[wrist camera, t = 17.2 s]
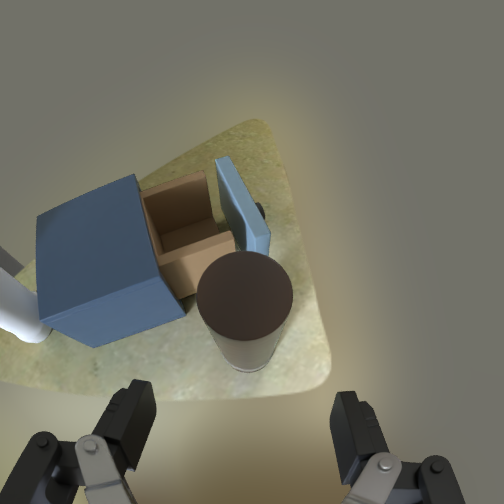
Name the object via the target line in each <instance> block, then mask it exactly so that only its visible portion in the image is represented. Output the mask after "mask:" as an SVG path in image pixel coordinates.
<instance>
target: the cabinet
mask: <svg viewBox="0 0 504 504" xmlns="http://www.w3.org/2000/svg"><path fill="white" fill-rule="evenodd" d="M140 192H141V188H140V186H139V184H138V181H137V179H136V176H135V174H132V175H129V176H127V177H124V178H122V179H119V180H116V181H114V182H112V183H109V184H107V185H104V186H102V187H99V188H97V189H95V190H92V191H90V192H88V193H85V194H83V195H81V196H79V197H77V198H74V199H72V200H70V201H68V202H66V203H63V204H61V205H59V206H57V207H55V208H53V209H51V210H49V211H47V212H45V213H43V214H41V215H39V216H37V226H36V282H37V299H38V311H39V321H40V322H42V323H44V324H46V325H47V326H49V327H51V328H53V329H55V330H57V331H59V332H61V333H63V334H65V335H67V336H69V337H71V338H73V339H75V340H77V341H79V342H81V343H83V344H85V345H88V346H90V347H92V348H95V347H98V346H101V345H104V344H107V343H110V342H113V341H116V340H119V339H122V338H125V337H128V336H131V335H134V334H136V333H139V332H142V331H145V330H148V329H151V328H153V327H156V326H159V325H162V324H165V323H167V322H170V321H173V320H176V319H178V318H181V317H184V316H186V313H185V310H184V307H183V304H182V301H181V299H177V297H176V296H175V294H174V293H173V291H172V290H171V288H170V286H169V285H168V283H167V282H166V280H165V278H164V277H163V275H162V274H161V272H160V269H159V266H158V263H157V259H156V255H155V252H154V248H153V245H152V241H151V237H150V233H149V229H148V226H147V222H146V218H145V213H144V209H143V205H142V201H141V197H140Z"/></svg>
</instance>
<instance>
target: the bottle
mask: <svg viewBox="0 0 504 504" xmlns="http://www.w3.org/2000/svg"><path fill="white" fill-rule="evenodd" d="M0 327H1V328H3V329H5V330H7V331H9V332H12V333H14V334H15V335H16V336H17V337H18V338H20V339H21V340H23V341H26V342H31V343H39V342H41V341H43V340H45V339H46V338H47V336H48V335H49V334H50V332H51V329H52V328H51V327H49V326H47V325H46V324H44V323H42V322H40V321H39V311H38V299H37V293H36V292H35V291H33V292H31V291H30V290H29V289H27V288H26V287H25V286H23V285H22V284H21V283H20V282H18V281H17V280H16V279H14V278H13V277H12V276H11V275H9V274H8V273H7V272H6V271H5V270H3V269H2V268H1V267H0Z"/></svg>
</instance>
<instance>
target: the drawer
mask: <svg viewBox="0 0 504 504" xmlns="http://www.w3.org/2000/svg"><path fill="white" fill-rule="evenodd" d="M215 162H216V170H217V178H218V186H219V194H220V201H221V208H222V211H223V213H224V215H225V217H226V219H227V222H228V224H229V226H230V228H231V230H232V232H233V235H234V237H235V239H236V241H237V243H238V245H239V248H240V250H241V251H254V252H258V253H261V254H264V255H266V256H269V246H270V237H271V232H270V230H269V228H268V226H267V224H266V223H265V221H264V220H265V213H264V210H263V208H262V206H261V204H260V203H258V202H257V203H255V202H254V200H253V199H252V197H251V195H250V193H249V191H248V190H247V188H246V186H245V184H244V182H243V180H242V179H241V177H240V175H239V173H238V171H237V170H236V168H235V166H234V164H233V162H232V161H231V159H230V157H229V156H225V157H222V158H218V159H216V160H215ZM140 197H141V201H142V205H143V209H144V213H145V218H146V222H147V226H148V229H149V233H150V237H151V241H152V245H153V248H154V252H155V255H156V259H157V263H158V266H159V269H160V272H161V274H162V275H163V277H164V278H165V280H166V282H167V283H168V285H169V286H170V288H171V290H172V291H173V293H174V294H175V296H176V297H177V299H181V298H184V297H186V296H189V295H192V294H195V293H197V286H198V283H199V280H200V278H201V276H202V274H203V273H204V271H205V270H206V269H207V267H208V266H209V265H210V264H211V263H212V262H214V261H215V260H216V259H218V258H219V257H221V256H223V255H226V254H228V253H232V252H236V251H235V240H234V237H233V235H232V232H231V230H229V231H226V232H223V233H220V232H219V229H218V227H217V225H216V222H215V220H214V218H213V214H212V208H211V203H210V197H209V191H208V185H207V180H206V175H205V173H204V171H203V170H201V171H198V172H195V173H192V174H189V175H186V176H183V177H180V178H177V179H174V180H172V181H169V182H166V183H163V184H160V185H157V186H155V187H152V188H149V189H147V190H144V191H141V192H140Z"/></svg>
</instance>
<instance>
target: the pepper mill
mask: <svg viewBox="0 0 504 504" xmlns="http://www.w3.org/2000/svg"><path fill="white" fill-rule="evenodd" d="M196 299H197V306H198V309H199V312H200V315H201V316H202V318H203V320H204V322H205V324H206V326H207V327H208V329H209V331H210V333H211V335H212V336H213V338H214V340H215V342H216V343H217V345H218V347H219V349H220V350H221V353H222V355H223V357H224V359H225V360H226V361H227V363H228V364H229V365H230V366H231V367H233V368H234V369H236V370H238V371H240V372H245V373H250V372H255V371H258V370H260V369H262V368H263V367H264V366H265V365H266V364H267V363H268V362H269V360H270V359H271V357H272V355H273V353H274V349H275V346H276V344H277V342H278V339H279V337H280V334H281V332H282V330H283V327H284V325H285V322H286V320H287V317H288V315H289V312H290V310H291V307H292V302H293V290H292V285H291V282H290V279H289V277H288V275H287V273H286V272H285V270H284V269H283V268H282V267H281V266H280V265H279V264H278V263H277V262H276V261H275V260H273V259H272V258H270V257H268V256H266V255H264V254H261V253H258V252H254V251H236V252H232V253H228V254H226V255H223V256H221V257H219V258H218V259H216V260H215V261H214V262H212V263H211V264H210V265H209V266H208V267H207V269H206V270H205V271H204V273H203V274H202V276H201V278H200V280H199V283H198V286H197V293H196Z"/></svg>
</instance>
